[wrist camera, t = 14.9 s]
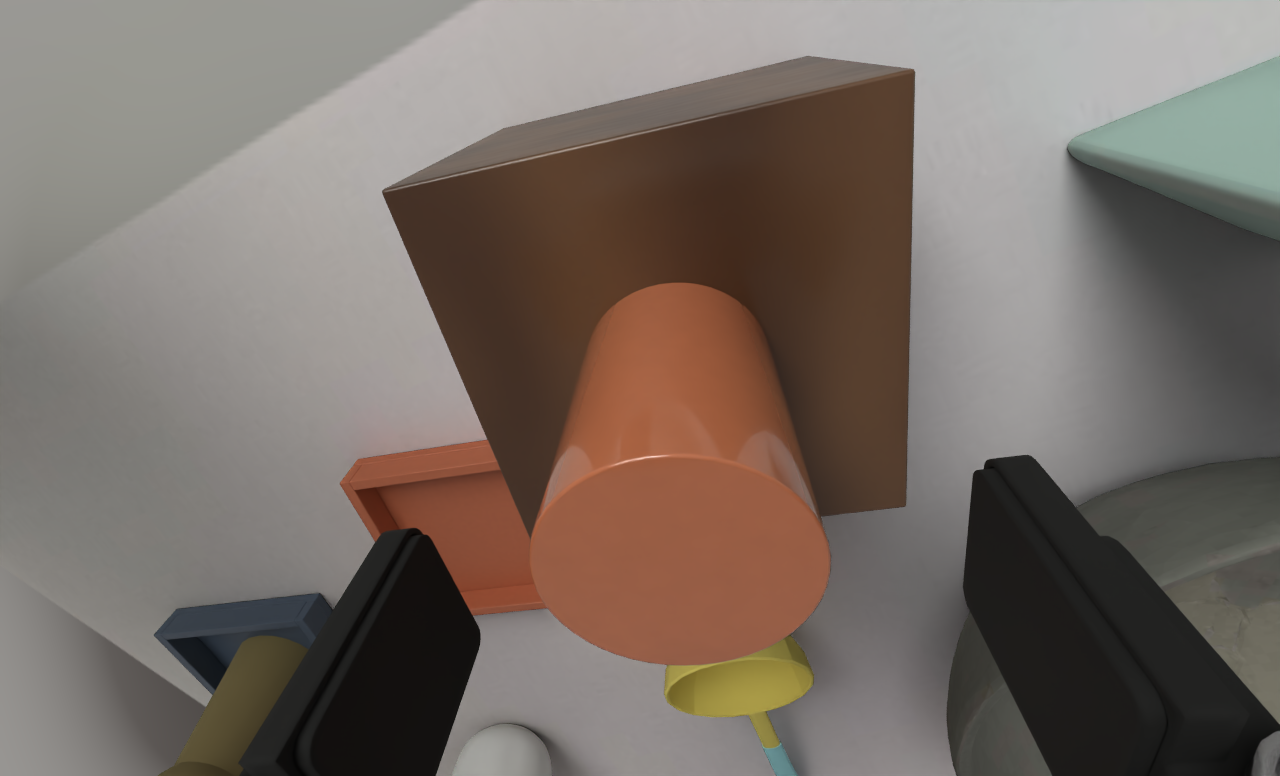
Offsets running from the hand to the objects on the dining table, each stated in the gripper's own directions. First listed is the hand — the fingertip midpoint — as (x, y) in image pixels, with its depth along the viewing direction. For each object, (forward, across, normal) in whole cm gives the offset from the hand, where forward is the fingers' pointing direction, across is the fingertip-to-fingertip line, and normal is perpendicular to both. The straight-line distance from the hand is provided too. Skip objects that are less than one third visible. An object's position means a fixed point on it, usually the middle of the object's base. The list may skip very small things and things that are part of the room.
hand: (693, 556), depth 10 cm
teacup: (+18, +20, +38) cm, 46 cm away
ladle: (+18, 0, +34) cm, 38 cm away
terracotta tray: (+17, +14, +14) cm, 26 cm away
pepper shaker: (+17, +34, +24) cm, 45 cm away
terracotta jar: (+6, 0, 0) cm, 7 cm away
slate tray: (+17, +33, +24) cm, 44 cm away
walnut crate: (+18, 0, 0) cm, 18 cm away
